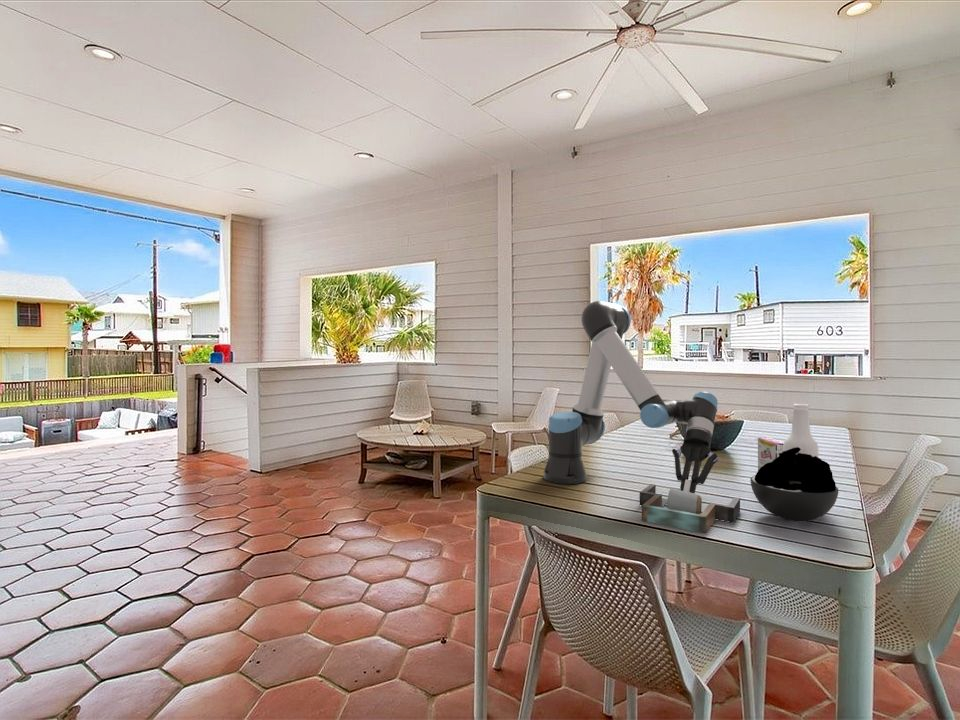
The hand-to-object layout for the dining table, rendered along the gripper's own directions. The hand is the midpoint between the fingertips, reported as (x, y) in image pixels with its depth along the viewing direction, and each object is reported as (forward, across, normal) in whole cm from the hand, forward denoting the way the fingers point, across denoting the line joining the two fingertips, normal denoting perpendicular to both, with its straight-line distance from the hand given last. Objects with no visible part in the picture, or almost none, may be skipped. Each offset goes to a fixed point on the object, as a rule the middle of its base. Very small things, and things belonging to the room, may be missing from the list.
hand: (685, 501), depth 138 cm
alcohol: (-17, -26, -22) cm, 38 cm away
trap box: (+3, 0, -1) cm, 4 cm away
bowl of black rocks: (-5, -25, -10) cm, 27 cm away
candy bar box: (-27, -18, -32) cm, 46 cm away
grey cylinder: (+5, 0, 0) cm, 5 cm away
